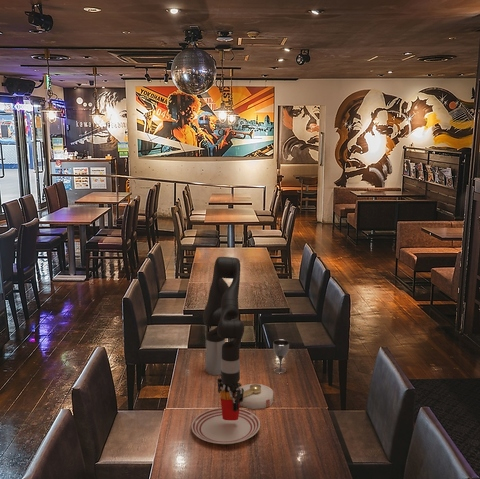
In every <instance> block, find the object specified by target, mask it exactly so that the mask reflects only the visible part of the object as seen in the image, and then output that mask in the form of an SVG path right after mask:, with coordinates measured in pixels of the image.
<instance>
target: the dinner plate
mask: <svg viewBox="0 0 480 479" xmlns="http://www.w3.org/2000/svg"><path fill="white" fill-rule="evenodd" d="M190 427H191V431H192V433H193V434H194V435H195V436H196V437H197V438H198V439H199V440H202V441H203V442H204V441H205V442H208V443H212V444H218V445H231V444H233V445H234V444H239V443H242V442H245V441H247V440H249V439H250V438H252V437H253V436H255V435H256V434H257V433H258V432H259V430H260V427H261V421H260V419H259V417H258V416H257V415H256V414H254V413H253V412H251V411H248V410H246V409H243V408H239V417H238V420H224V419H223V417H222V407H216V408H210V409H208V410H205V411H203V412H201V413H200V414H198V415H197V416H196V417H195V418H194V419H193V420H192V422H191V426H190Z"/></svg>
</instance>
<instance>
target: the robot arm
mask: <svg viewBox="0 0 480 479" xmlns="http://www.w3.org/2000/svg"><path fill="white" fill-rule="evenodd" d="M224 279H232V281H231V282H230V285H228V283H227V282H226V280H224ZM240 281H241V261H240V259H239V258H238V257H233V256H217V258H216V259H215V262H214V266H213V273H212V281H211V284H210V289H209V292H208V297H207V298H208V299H207V302H206V305H205V307H204V310H203V315H202V322H203V324H204V325H205V326H206V327H209V328H211V327H215V328H214V329H212V330H209V331H207V333H206V335H205V340H206V341H205V342H206V344H205V345H206V346H205V349H206V350H205V353H204V356H205V357H204V359H205V361H204V366H205V368H204V370H205V371H206V373H207V374H208V375H210V376H211V375H212V376H218V375H220V378H217V393H219V394H220V391H221V392H222V391H223V393H224V390H225V392H229V393H230V396H231V398H232V399H233V411H234V412H235V411H238V409H239V403H240V402H243V393H244V389H243V388H241V389H240V387H239V386H238V383H239V381H240V379H241V378H240V377H241V360H240V346H241V343H242V339H243V336H244V333H245V325H244V323H243V321H241V320H239V319H238V320H237V318H238V317H239V314H240V313H239V312H240V309H239V307H240V306H239V293H240V291H239V290H240V284H241V282H240ZM226 339H232V340H231V341H227V342H226ZM235 392H236V393H237V394H235V395H233V394H234V393H235ZM235 397H236V400H235ZM239 398H240V399H239Z"/></svg>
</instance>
